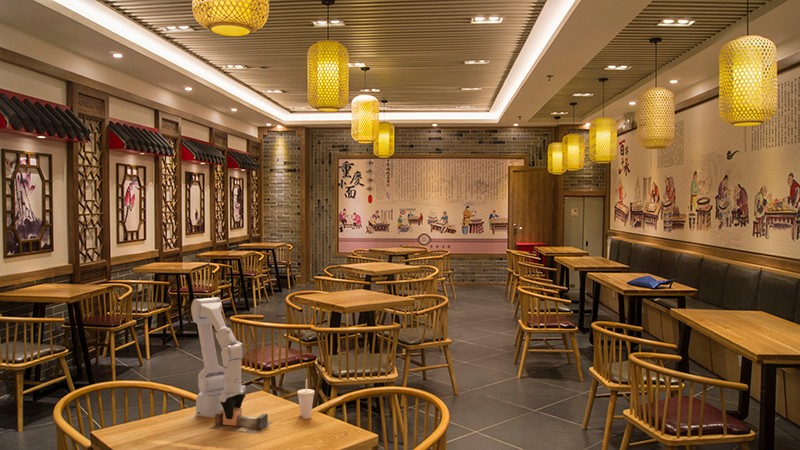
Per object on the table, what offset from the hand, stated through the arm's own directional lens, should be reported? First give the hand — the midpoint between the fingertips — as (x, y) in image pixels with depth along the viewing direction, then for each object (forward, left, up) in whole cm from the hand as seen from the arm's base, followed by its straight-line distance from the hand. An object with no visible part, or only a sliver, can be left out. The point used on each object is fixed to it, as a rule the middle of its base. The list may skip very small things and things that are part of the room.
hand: (232, 416), depth 213 cm
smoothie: (+20, +17, -4) cm, 27 cm away
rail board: (+3, 0, -4) cm, 5 cm away
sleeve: (0, 0, -3) cm, 3 cm away
